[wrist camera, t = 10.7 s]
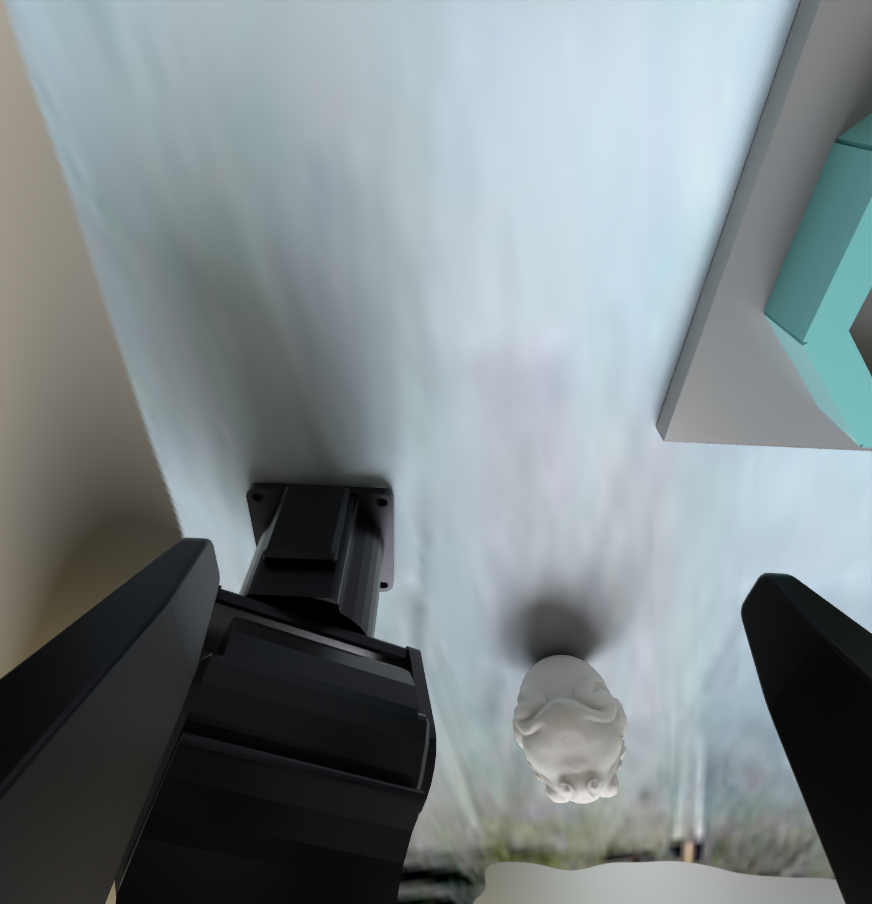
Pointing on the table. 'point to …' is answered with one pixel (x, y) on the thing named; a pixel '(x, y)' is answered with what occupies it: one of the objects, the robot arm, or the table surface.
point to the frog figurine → (570, 729)
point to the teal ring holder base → (792, 261)
